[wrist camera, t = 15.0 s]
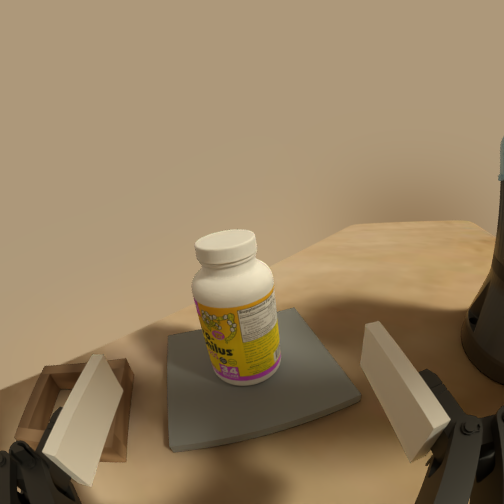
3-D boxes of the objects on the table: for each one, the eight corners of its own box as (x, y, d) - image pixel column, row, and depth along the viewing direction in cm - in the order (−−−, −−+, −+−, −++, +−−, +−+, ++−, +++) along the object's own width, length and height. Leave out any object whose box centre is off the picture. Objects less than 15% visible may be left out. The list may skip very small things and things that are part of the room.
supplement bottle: (203, 360, 26) (171, 241, 22) (257, 336, 30) (240, 221, 25) (234, 400, 21) (200, 261, 17) (296, 366, 24) (286, 234, 20)
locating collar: (134, 375, 26) (125, 358, 25) (126, 462, 15) (112, 447, 14) (54, 381, 24) (44, 365, 23) (29, 453, 13) (14, 437, 12)
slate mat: (294, 314, 34) (294, 307, 34) (359, 401, 20) (361, 394, 19) (170, 341, 32) (168, 335, 31) (173, 452, 17) (169, 446, 16)
